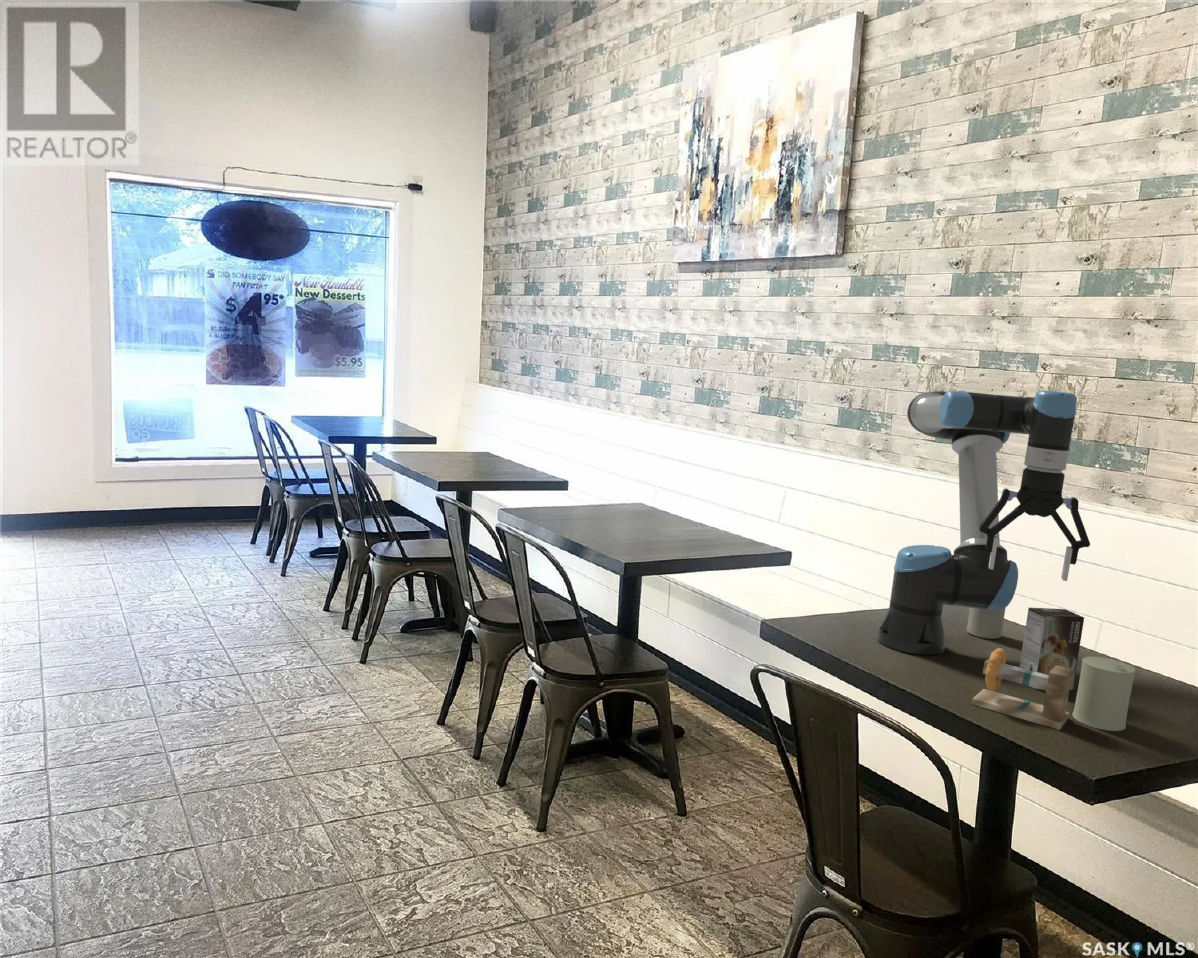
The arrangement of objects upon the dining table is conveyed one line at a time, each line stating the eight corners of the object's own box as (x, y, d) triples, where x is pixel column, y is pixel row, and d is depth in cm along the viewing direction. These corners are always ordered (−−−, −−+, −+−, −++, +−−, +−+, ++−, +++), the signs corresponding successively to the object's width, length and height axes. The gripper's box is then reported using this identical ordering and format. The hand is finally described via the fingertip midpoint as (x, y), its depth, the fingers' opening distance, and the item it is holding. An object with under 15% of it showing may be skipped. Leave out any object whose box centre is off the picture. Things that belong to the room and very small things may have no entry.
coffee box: (1054, 679, 207) (1066, 608, 204) (1073, 690, 201) (1086, 617, 198) (1016, 678, 205) (1028, 606, 203) (1034, 689, 199) (1046, 615, 197)
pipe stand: (971, 704, 187) (979, 655, 185) (982, 694, 193) (990, 646, 192) (1059, 729, 177) (1068, 678, 176) (1068, 718, 184) (1076, 668, 182)
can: (1102, 733, 178) (1113, 671, 176) (1061, 713, 186) (1071, 654, 184) (1136, 729, 182) (1147, 668, 180) (1094, 710, 190) (1104, 652, 188)
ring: (981, 691, 185) (988, 652, 184) (992, 682, 192) (998, 644, 191) (992, 694, 184) (998, 655, 183) (1003, 685, 191) (1009, 646, 190)
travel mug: (1005, 636, 237) (1017, 566, 234) (992, 641, 231) (1004, 569, 229) (974, 627, 243) (985, 559, 240) (961, 632, 237) (972, 562, 234)
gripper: (977, 463, 188) (961, 567, 192) (1117, 480, 181) (1098, 588, 184) (976, 459, 195) (960, 559, 199) (1111, 475, 188) (1092, 580, 191)
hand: (1027, 573), depth 191 cm, fingers open, 13 cm apart
